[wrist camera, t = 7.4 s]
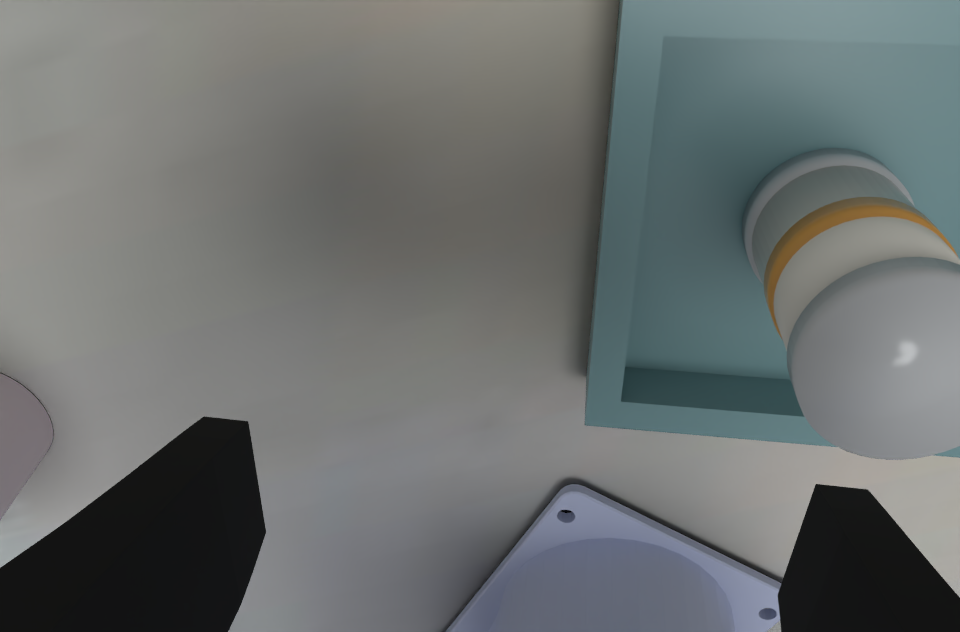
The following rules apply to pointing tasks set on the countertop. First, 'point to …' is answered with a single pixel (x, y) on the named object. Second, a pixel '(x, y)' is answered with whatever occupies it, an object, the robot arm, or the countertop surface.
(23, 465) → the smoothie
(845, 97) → the tray
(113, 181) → the countertop surface
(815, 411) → the marked fuse
